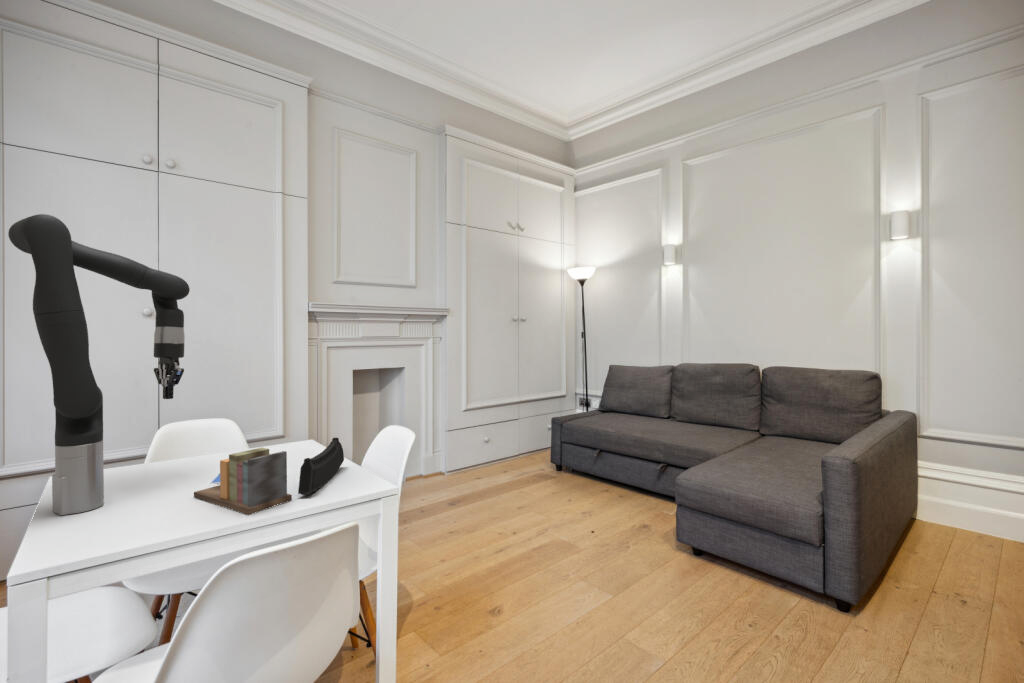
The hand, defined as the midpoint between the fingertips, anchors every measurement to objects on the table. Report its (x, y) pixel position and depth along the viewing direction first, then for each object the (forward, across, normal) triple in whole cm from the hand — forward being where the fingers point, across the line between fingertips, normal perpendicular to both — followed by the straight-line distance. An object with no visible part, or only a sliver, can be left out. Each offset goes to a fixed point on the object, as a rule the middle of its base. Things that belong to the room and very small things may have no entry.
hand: (168, 398), depth 142 cm
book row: (+26, +33, +3) cm, 42 cm away
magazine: (+26, +40, +24) cm, 54 cm away
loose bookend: (+25, +33, +3) cm, 41 cm away
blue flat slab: (+26, +10, +17) cm, 33 cm away
